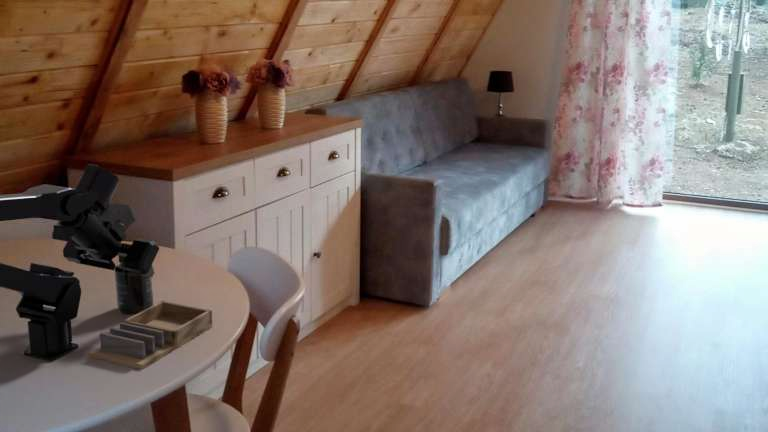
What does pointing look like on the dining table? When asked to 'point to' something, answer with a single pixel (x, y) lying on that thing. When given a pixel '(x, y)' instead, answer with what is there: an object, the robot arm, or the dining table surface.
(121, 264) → the supplement bottle
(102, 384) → the dining table surface
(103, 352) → the wooden desk organizer
